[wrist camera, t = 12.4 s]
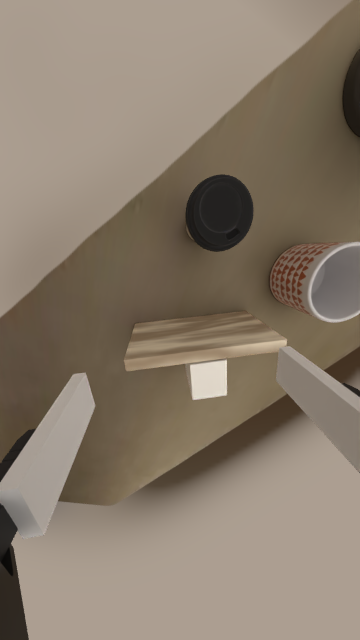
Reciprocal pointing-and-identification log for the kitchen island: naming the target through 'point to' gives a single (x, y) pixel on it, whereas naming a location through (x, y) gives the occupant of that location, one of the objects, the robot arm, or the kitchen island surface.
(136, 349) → the wooden board
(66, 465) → the robot arm
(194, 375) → the cabinet
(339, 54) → the kitchen island surface
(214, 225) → the coffee cup
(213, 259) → the kitchen island surface
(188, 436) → the kitchen island surface
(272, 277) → the planter
